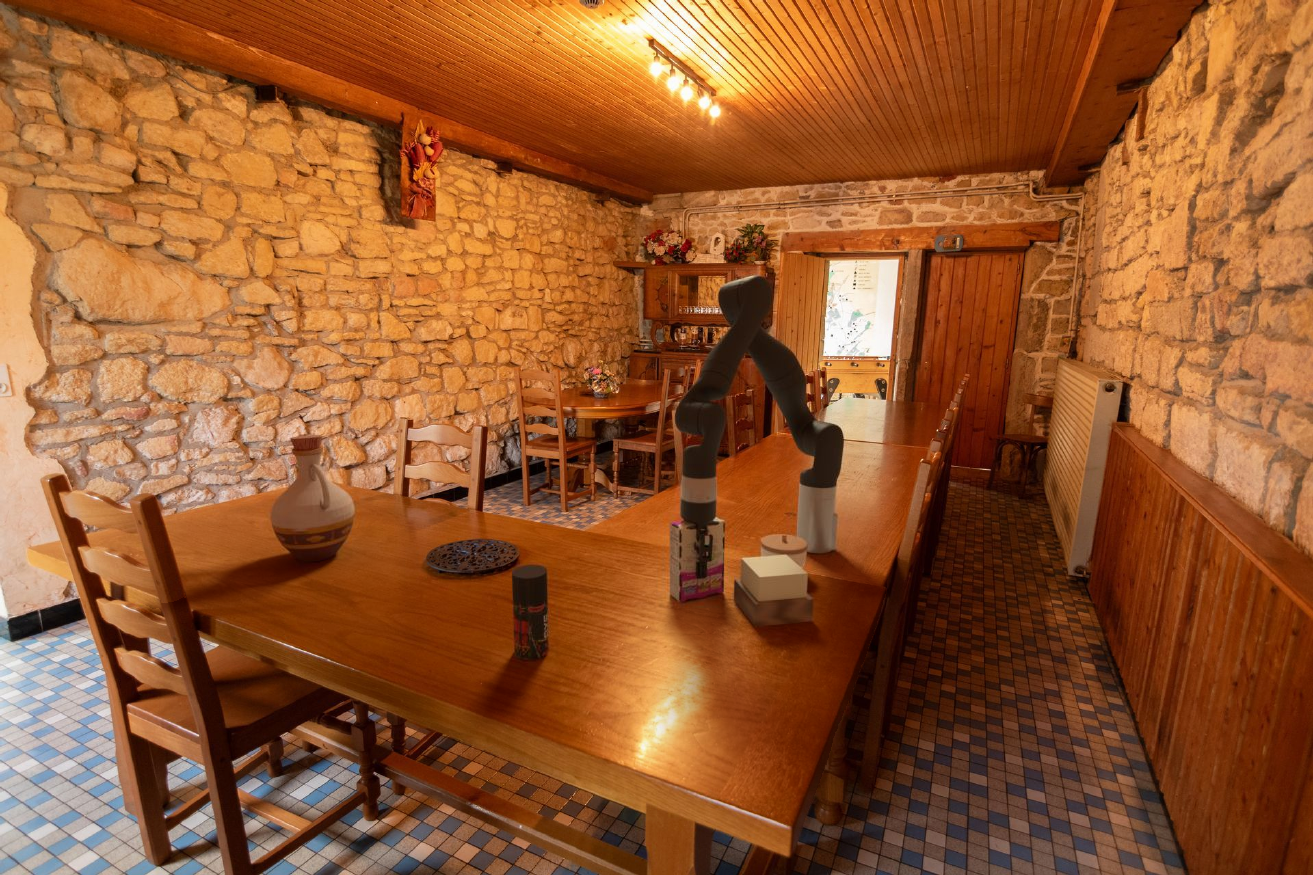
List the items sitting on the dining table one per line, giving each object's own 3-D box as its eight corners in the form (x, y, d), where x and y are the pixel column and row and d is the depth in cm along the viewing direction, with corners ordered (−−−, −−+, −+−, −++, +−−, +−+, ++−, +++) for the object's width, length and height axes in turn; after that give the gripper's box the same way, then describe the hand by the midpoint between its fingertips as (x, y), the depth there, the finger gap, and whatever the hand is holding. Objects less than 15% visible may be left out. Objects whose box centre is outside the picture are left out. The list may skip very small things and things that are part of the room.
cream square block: (784, 577, 130) (786, 554, 129) (806, 597, 120) (807, 573, 119) (740, 580, 128) (741, 557, 127) (758, 601, 118) (759, 577, 117)
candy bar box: (711, 584, 137) (713, 514, 134) (724, 593, 132) (726, 520, 129) (667, 594, 132) (668, 521, 129) (679, 603, 127) (680, 528, 124)
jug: (372, 557, 150) (363, 436, 145) (291, 578, 137) (278, 447, 132) (341, 537, 163) (332, 426, 158) (265, 555, 150) (251, 435, 145)
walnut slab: (786, 596, 132) (787, 574, 131) (812, 622, 121) (813, 599, 120) (733, 601, 130) (734, 579, 129) (754, 628, 118) (755, 604, 117)
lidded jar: (754, 578, 141) (756, 539, 139) (764, 561, 150) (766, 525, 149) (802, 585, 137) (804, 545, 135) (809, 568, 147) (811, 530, 145)
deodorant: (516, 643, 111) (514, 564, 108) (550, 642, 111) (548, 564, 109) (512, 661, 105) (509, 578, 102) (547, 659, 105) (545, 577, 103)
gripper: (726, 504, 122) (724, 584, 125) (705, 486, 136) (703, 558, 139) (690, 506, 120) (688, 587, 123) (672, 487, 134) (671, 560, 137)
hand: (696, 571), depth 131 cm, fingers open, 6 cm apart
